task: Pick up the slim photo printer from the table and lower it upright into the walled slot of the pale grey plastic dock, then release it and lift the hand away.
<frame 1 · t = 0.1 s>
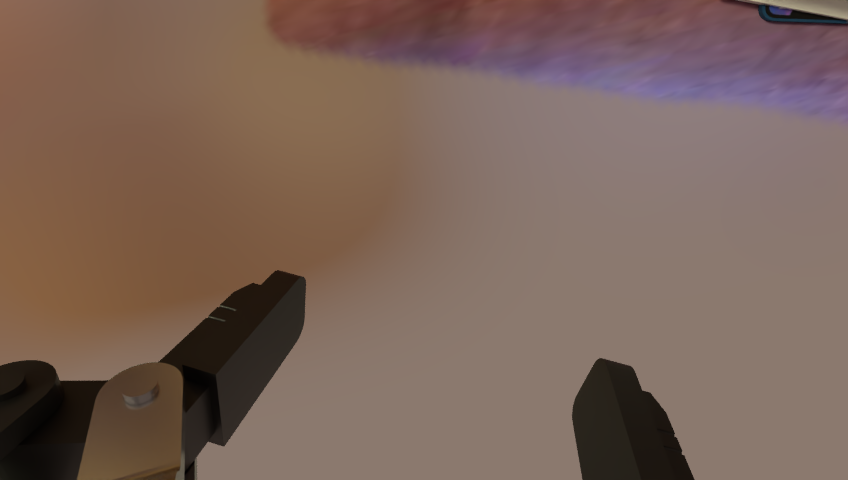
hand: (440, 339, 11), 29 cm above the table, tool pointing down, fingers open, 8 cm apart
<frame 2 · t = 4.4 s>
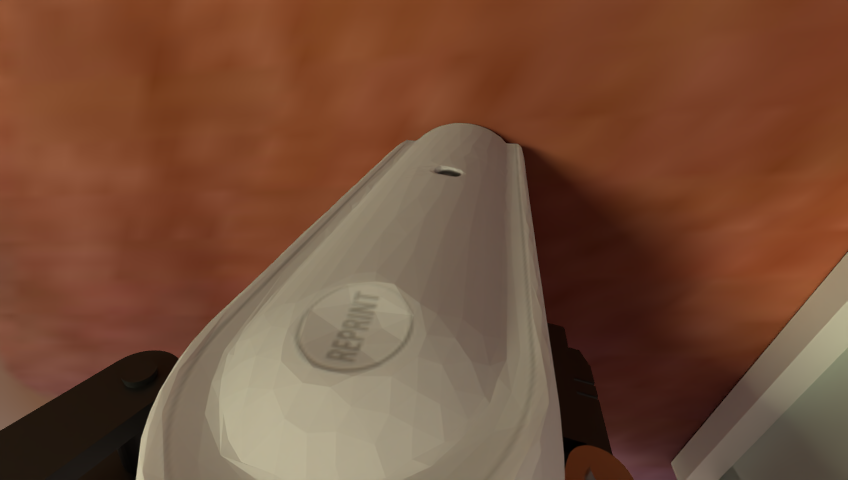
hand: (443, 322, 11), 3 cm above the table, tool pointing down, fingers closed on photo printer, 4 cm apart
photo printer: (458, 260, 14), on the table, touching gripper
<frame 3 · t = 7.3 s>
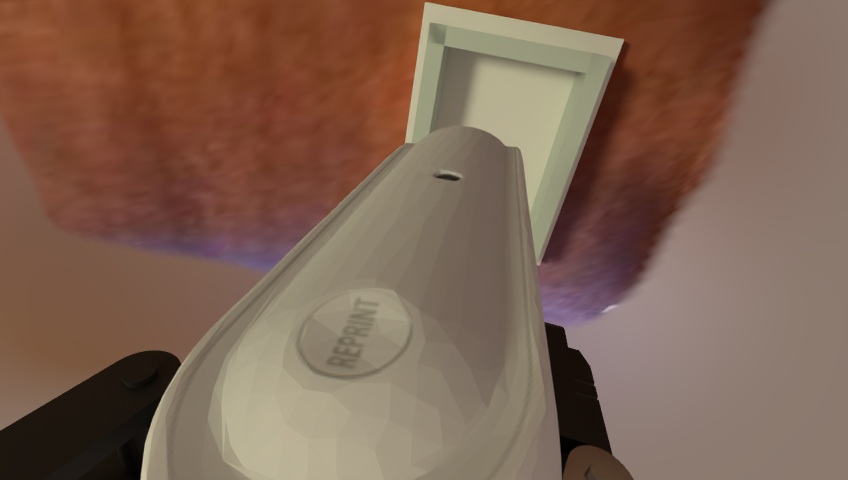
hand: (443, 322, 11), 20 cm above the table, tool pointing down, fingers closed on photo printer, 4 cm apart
photo printer: (458, 262, 14), point 16 cm above the table, touching gripper
printer dock: (490, 146, 28), on the table
when the fingers open (6 cm above the table, at t = 10.2 s): photo printer drops 1 cm, resting on printer dock.
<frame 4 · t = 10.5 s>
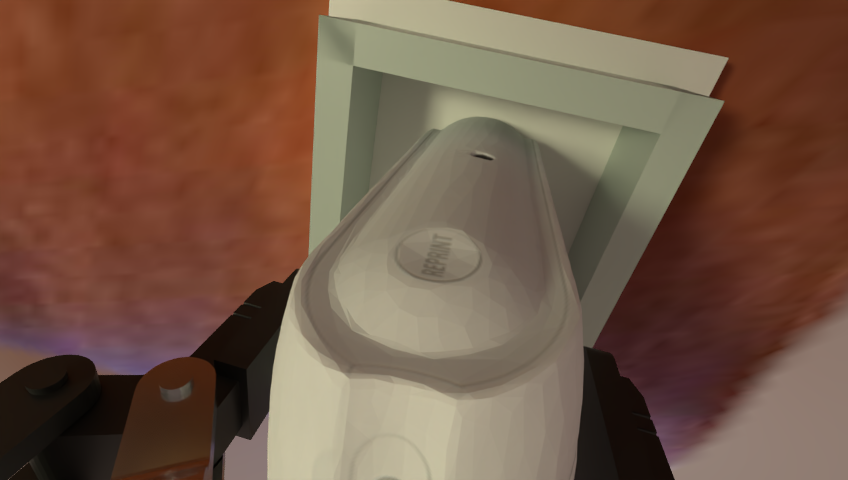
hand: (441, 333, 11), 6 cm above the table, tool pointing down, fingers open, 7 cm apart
photo printer: (468, 243, 16), point 1 cm above the table, touching printer dock
printer dock: (463, 233, 16), on the table
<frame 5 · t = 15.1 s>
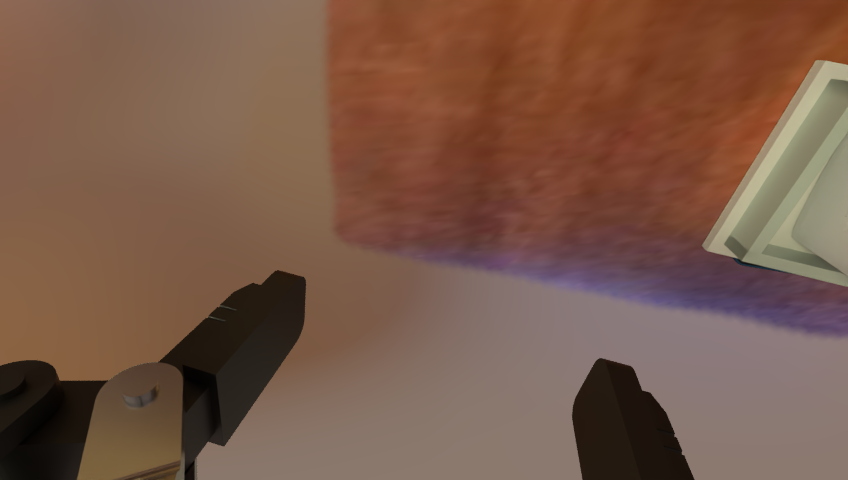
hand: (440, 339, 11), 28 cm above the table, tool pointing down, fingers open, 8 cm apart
photo printer: (838, 184, 31), point 1 cm above the table, touching printer dock
printer dock: (827, 180, 32), on the table
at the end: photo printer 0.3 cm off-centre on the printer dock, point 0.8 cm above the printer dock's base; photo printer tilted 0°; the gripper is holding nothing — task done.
